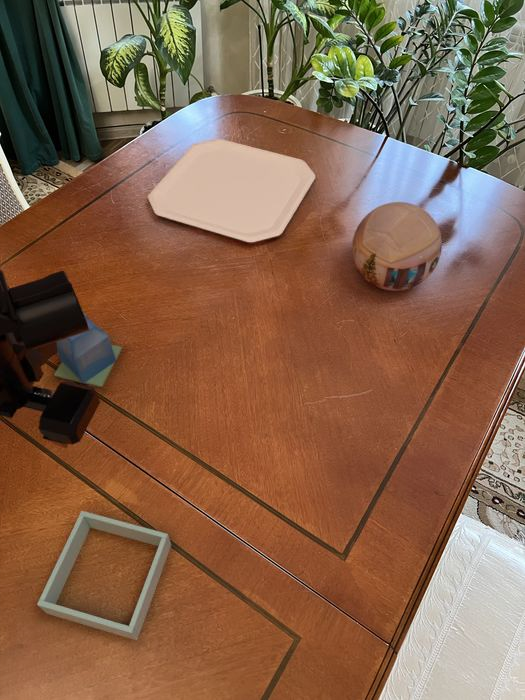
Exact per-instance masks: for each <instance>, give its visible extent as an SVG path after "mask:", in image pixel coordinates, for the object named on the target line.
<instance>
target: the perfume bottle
mask: <svg viewBox="0 0 525 700" xmlns="http://www.w3.org/2000/svg"><path fill="white" fill-rule="evenodd" d="M82 311H83V314H84V316H85V319H86V321H87V324H88V327H89V331H86V332H83V333H80V334H77V335H74V336H72V337H69V338H66V339H63V340H60V341H57V349H58V352H57V355H58V358H59V360H60V363H61V362H62V363H63V364H64V365H65V366H66V367H67V368H68V369H69V370H70V371H71V372H72V373H73V374H74V375H75V376H76V377H77V378H78V379H80V380H81V381H82V382H83V383H82V384H84V383H85V382H87V381H88V380H90V379H91V378H93V377H94V376H95V375H97V374H98V373H100V372H101V371H103V370H104V369H105V368H107V367H108V366H110V365H111V364H113V363H114V362H115V363H116V362H117V360H116V358H115V355H114V352H113V349H112V345H113V344H112V342H111V339H110V336H109V335H108V334H107V333H106V332H105V331H104V330H102V328H100V327H99V326H98V325H97V324H96V323H95V322H93V321H92V320H91V318H89V316H87V315H86V314H85V312H84V310H83V309H82Z"/></svg>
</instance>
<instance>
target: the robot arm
mask: <svg viewBox="0 0 525 700" xmlns="http://www.w3.org/2000/svg"><path fill="white" fill-rule="evenodd" d="M82 310H83V309H82V306H81V304H80V302H79V299H78V296H77V295H76V292H75V290H74V287H73V285H72V282H71V281H70V280H69V277H68V275H67V272H66V271H65V270H59V271H55V272H53V273H51V274H49V275H48V274H47V275H46V276H44V277H42V278H39V279H36V280H33V281H29V282H26V283H22V284H19V285H16V286H13V287H10V286H9V284H8V282H7V279H6V277H5V272H4V271H3V269H2V270H1V269H0V416H1V417H4V418H9V419H12V418H13V417H14V416H15V414H16V412H17V411H18V410H21V409H22V408H26V409H31V410H34V411H39V412H42V413H41V415H40V416H39V423H38V430H39V432H40V434H41V435H42V439H43V440H45V441H47V442H49V443H51V444H53V445H57V446H58V447H61V448H64V449H67V448H68V446H69V445H72V446H73V445H76V444H78V443H80V442H81V440H82V439H83V437H84V434H85V433H86V431H87V429H88V427H89V425H90V423H91V421H92V419H93V417H94V416H95V413H96V411H97V410H98V408H99V406H100V404H101V400H100V398H99V395H98V392H97V390H96V388H95V387H94V386H90V385H86V384H82V383H77V382H73V381H72V382H71V381H69V380H64V381H62V382H60V383H59V384H58V385H57V387H56V389H55V390H51V389H47V388H43V387H40V386H35V385H34V383H40V381H41V380H42V378H43V376H44V374H45V373H44V371H43V369H42V366H44V365H45V364H46V363H47V362H48V361H50V359H51V358H52V357H53V356H54V357H55V356H57V355H58V353H57V352H58V349H57V341H60V340H63V339H66V338H69V337H72V336H74V335H77V334H80V333H83V332H86V331H89V327H88V324H87V321H86V319H85V316H84V314H85V313H84V314H83V312H84V310H83V311H82Z"/></svg>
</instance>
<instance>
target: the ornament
mask: <svg viewBox="0 0 525 700" xmlns="http://www.w3.org/2000/svg"><path fill="white" fill-rule="evenodd" d="M351 245H352V246H351V251H352V258H353V262H354V264H355V266H356V268H357V271H358V272H359V274H360V275H361V276H362V277H363V279H365V280H366V281H367V282H368V283H370V284H371V285H373V286H374V287H377V288H379V289H381V290H385V291H391V292H392V291H394V292H396V291H405V290H409V289H412V288H414V287H416V286H418V285H420V284H421V283H423V282H425V280H427V279H428V278H429V277H430V276H431V275H432V273H433V272H434V271H435V269H436V267H437V266H438V264H439V261H440V258H441V255H442V249H443V248H442V246H443V241H442V234H441V231H440V228H439V226H438V224H437V222H436V221H435V219H434V218H433V216H432V215H431V214H429V212H427V211H426V210H425V209H423V208H422V207H420V206H418V205H416V204H413V203H411V202H405V201H394V202H388V203H383V204H382V205H379V206H377V207H375V208H374V209H372V210H371V211H369V212H368V213H367V214H366V215H365V216H364V217H363V218H362V219H361V221H360V223H359V224H358V225H357V227H356V230H355V231H354V235H353V239H352V244H351Z"/></svg>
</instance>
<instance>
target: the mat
mask: <svg viewBox="0 0 525 700" xmlns="http://www.w3.org/2000/svg"><path fill="white" fill-rule="evenodd" d="M111 345H112V349H113V352H114V355H115V358H116V361H117V360H118V358H119V356H120V354H121V352H122V351H123V347H122V346H119V345H115V344H111ZM115 364H116V362H114V363H113V364H111V365H110V366H108V367H107V368H105V369H104V370H103V371H101V372H100V373H98V374H97V375H95V376H94V377H93V378H91V379H90V380H88V381H87V382H85V383H83V382H82V381H81V380H80V379H78V378H77V377H76V376H75V375H74V374H73V373H72V372H71V371H70V370H69V369H68V368H67V367H66V366H65V365H64V364H63V363H62V362H61V361H60V364H59V366H58V367H57V369H56V371H55V372H54V374H53V376H54V377H55V378H59V379H63V380H66V381H70V382H71V381H72V382H74V383H79V384H83V385H87V386H91V387H97V388H101V389H102V388H103V386H104V385H105V383H106V381H107V379H108V377H109V375H110V373H111V372H112V369H113V367H114V365H115Z"/></svg>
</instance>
